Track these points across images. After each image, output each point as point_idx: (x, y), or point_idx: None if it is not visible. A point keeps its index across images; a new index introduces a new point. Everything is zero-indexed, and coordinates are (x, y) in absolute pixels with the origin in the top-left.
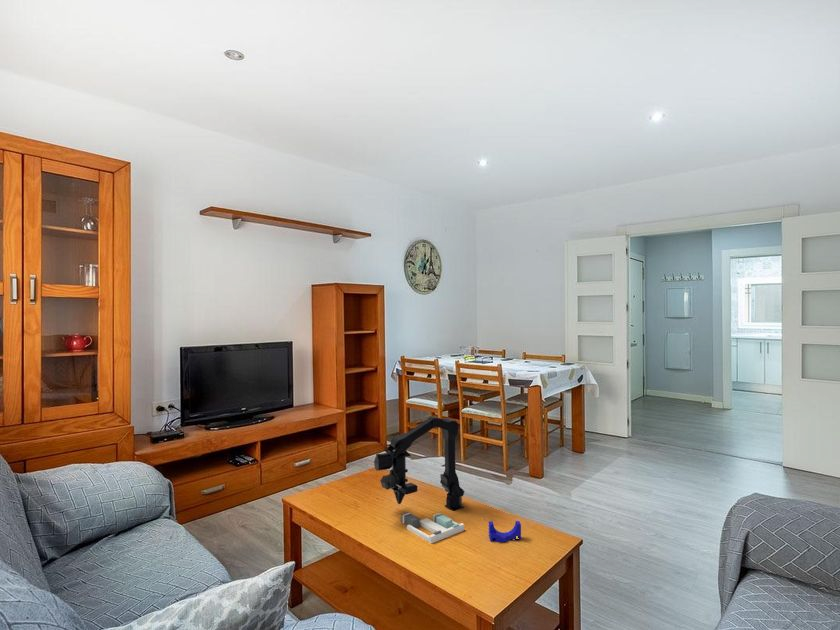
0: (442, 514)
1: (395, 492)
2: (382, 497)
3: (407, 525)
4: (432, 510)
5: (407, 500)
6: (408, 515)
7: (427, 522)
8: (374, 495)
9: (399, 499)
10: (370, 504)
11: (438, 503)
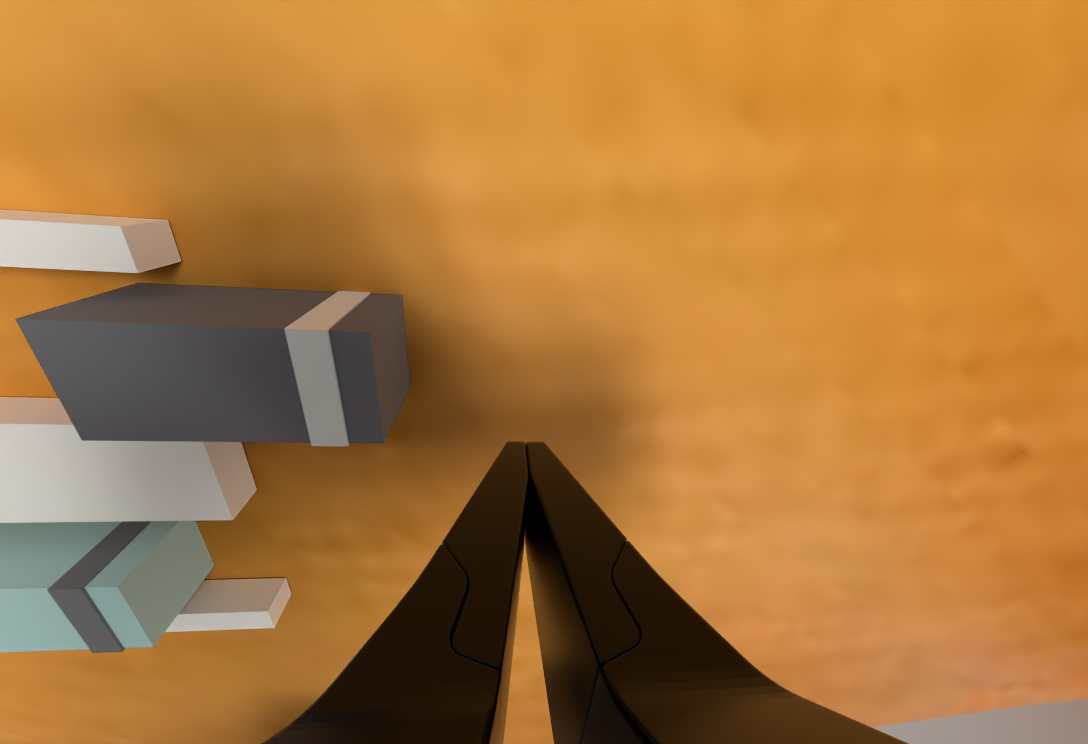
0: (95, 650)
1: (620, 655)
2: (972, 493)
3: (104, 227)
4: None
5: (739, 589)
6: (260, 382)
7: (109, 470)
8: (1068, 469)
9: (468, 515)
10: (1021, 326)
11: (522, 686)
